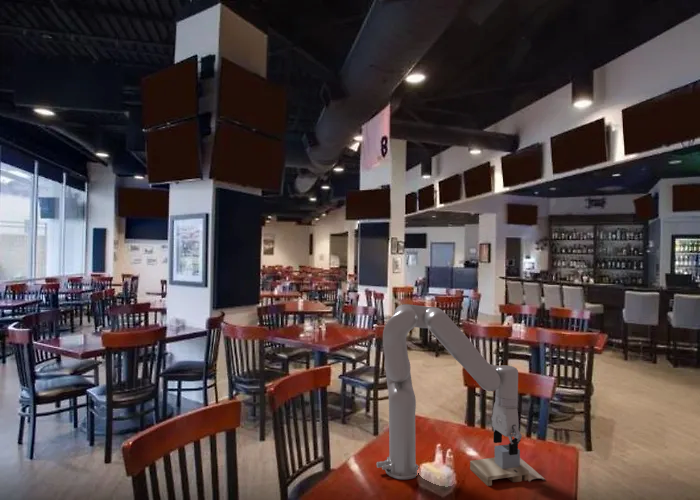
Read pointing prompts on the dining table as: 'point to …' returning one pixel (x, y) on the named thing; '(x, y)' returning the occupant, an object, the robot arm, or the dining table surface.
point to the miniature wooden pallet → (497, 471)
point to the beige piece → (530, 471)
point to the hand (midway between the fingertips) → (505, 448)
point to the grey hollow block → (506, 457)
